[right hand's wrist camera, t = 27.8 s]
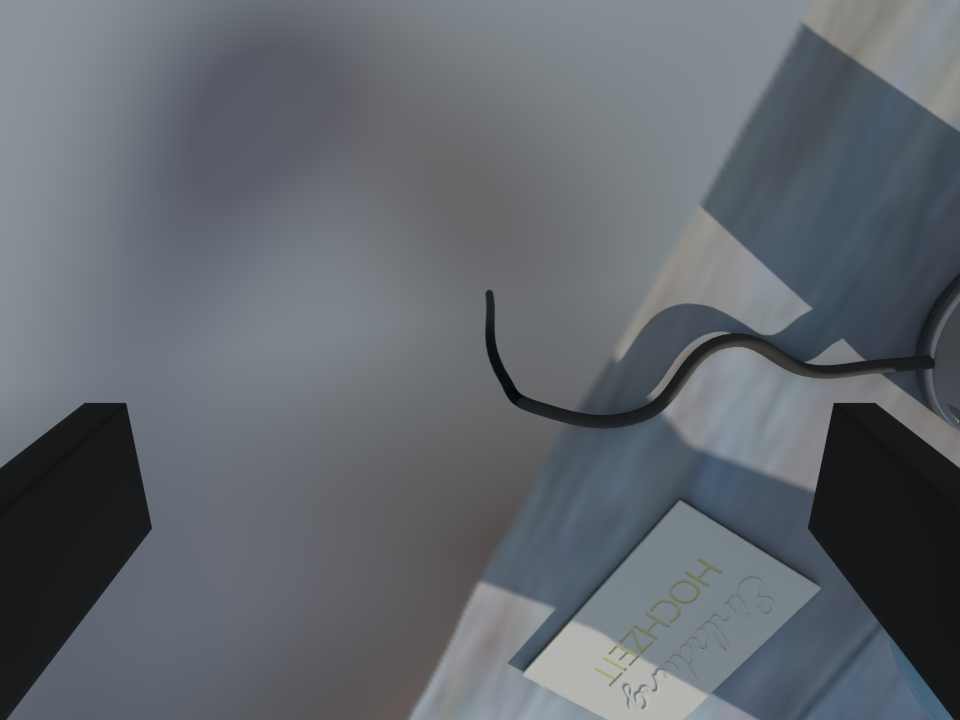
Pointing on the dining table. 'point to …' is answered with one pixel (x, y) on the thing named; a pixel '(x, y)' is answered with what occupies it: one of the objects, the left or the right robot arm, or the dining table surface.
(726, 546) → the invitation card
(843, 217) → the dining table surface
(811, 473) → the dining table surface
